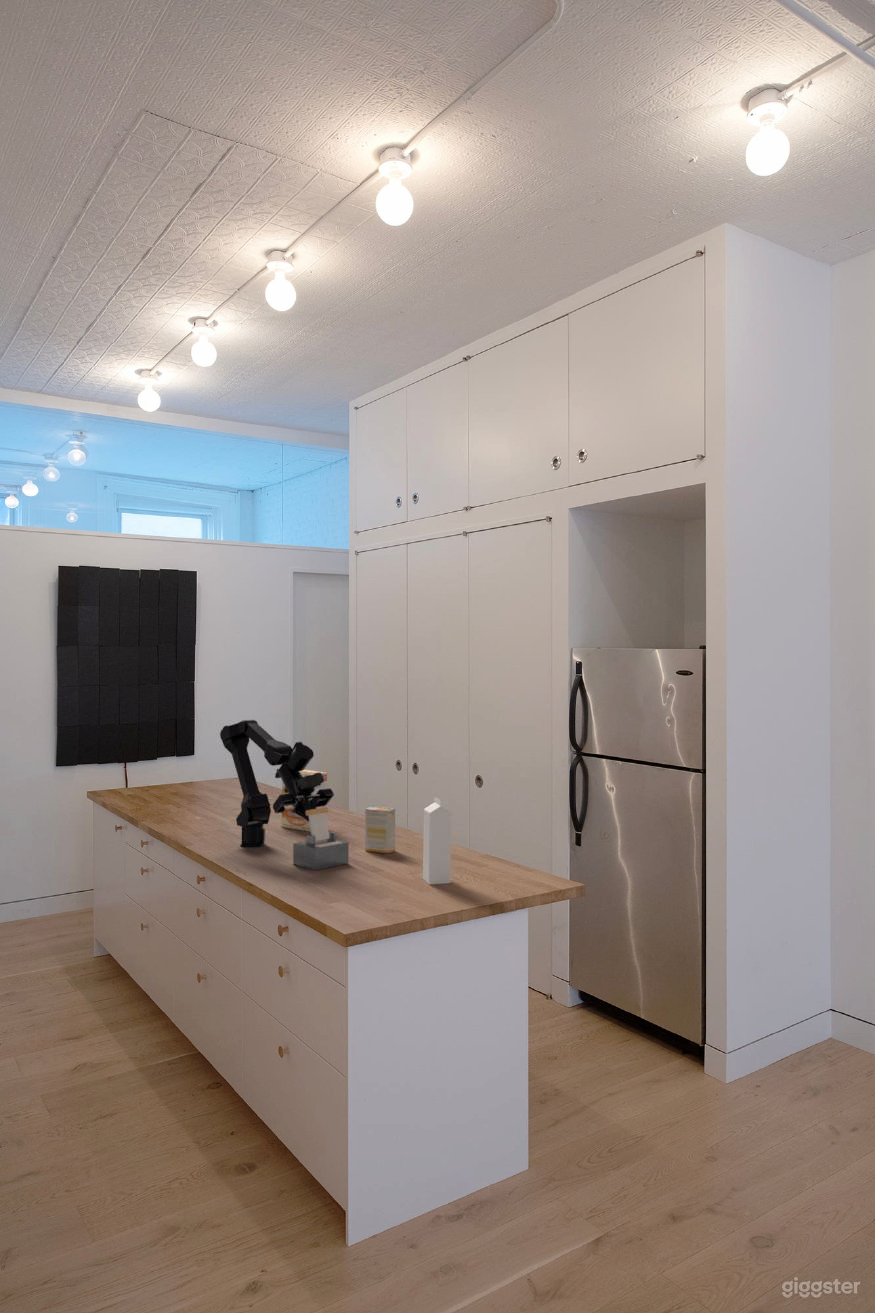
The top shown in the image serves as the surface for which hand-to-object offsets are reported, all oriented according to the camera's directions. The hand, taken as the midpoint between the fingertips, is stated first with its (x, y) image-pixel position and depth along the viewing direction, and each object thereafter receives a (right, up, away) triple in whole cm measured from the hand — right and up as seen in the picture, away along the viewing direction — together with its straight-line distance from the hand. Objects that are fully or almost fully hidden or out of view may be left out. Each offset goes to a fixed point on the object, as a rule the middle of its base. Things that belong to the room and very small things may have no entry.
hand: (316, 824), depth 254 cm
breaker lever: (+2, -4, -2) cm, 5 cm away
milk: (+35, -12, -19) cm, 41 cm away
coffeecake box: (-11, -11, +49) cm, 51 cm away
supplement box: (+17, -11, +16) cm, 26 cm away
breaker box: (+2, -11, -2) cm, 11 cm away
